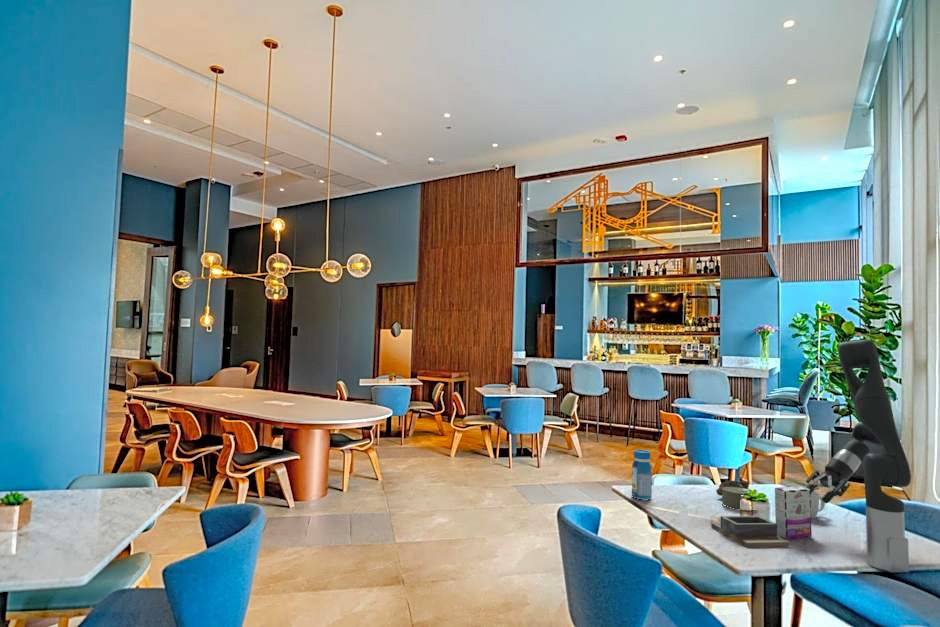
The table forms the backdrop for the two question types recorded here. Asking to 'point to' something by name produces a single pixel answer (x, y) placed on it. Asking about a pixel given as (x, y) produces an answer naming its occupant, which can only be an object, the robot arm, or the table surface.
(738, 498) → the dark grey bowl
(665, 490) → the table surface
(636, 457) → the beverage bottle
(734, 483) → the decorative turtle
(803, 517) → the candy bar box
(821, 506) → the mug
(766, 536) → the display stand
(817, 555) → the table surface
